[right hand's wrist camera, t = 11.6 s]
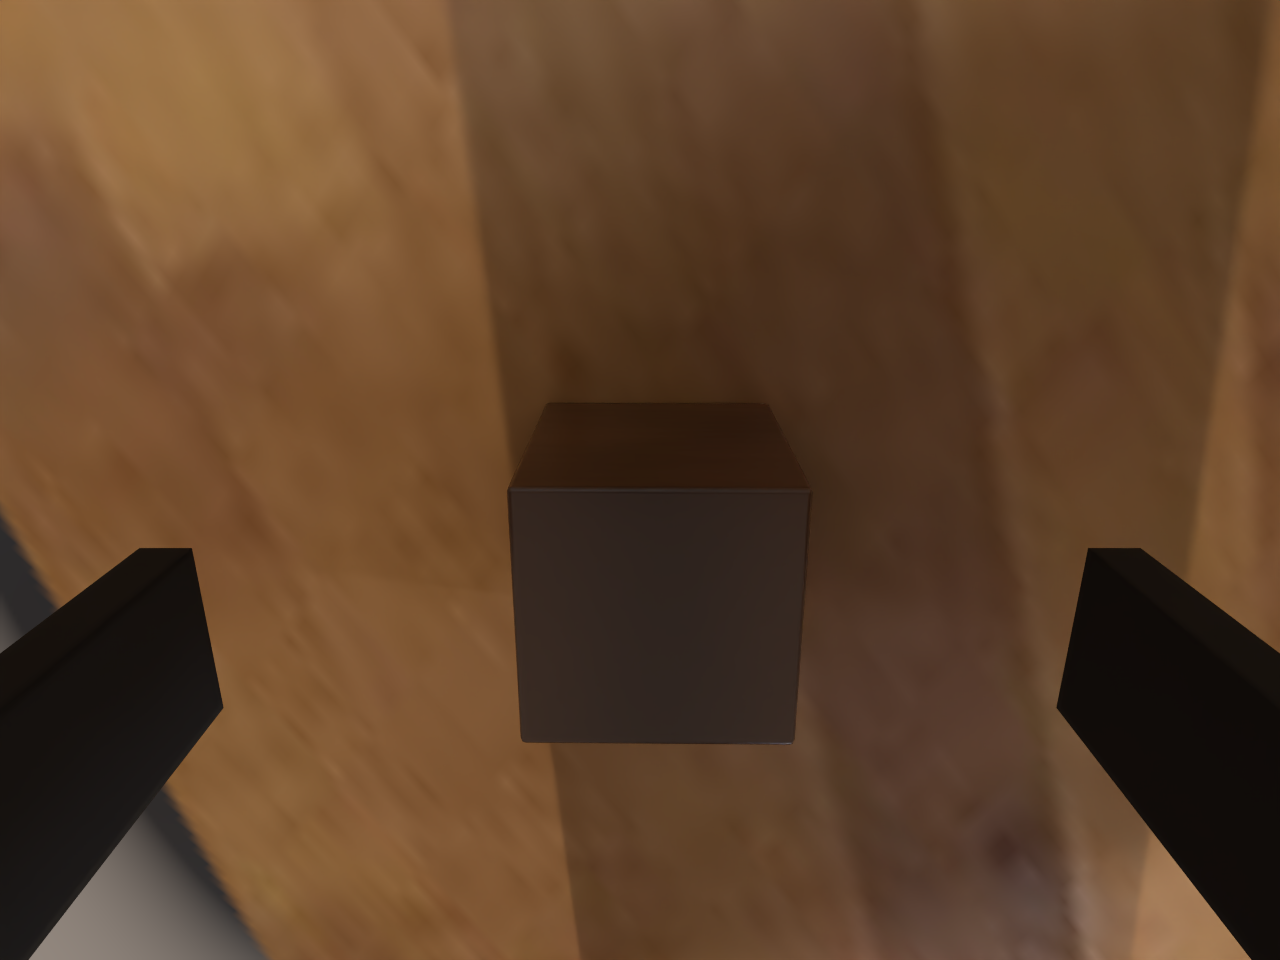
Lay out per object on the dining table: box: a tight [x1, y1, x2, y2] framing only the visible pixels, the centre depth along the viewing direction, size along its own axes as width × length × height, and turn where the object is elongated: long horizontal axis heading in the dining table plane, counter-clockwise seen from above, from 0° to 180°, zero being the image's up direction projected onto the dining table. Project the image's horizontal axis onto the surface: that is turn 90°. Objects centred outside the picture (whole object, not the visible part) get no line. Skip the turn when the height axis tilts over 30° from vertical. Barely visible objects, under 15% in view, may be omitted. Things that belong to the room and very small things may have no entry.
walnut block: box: [507, 403, 813, 745], centre depth 16 cm, size 4×4×5 cm
